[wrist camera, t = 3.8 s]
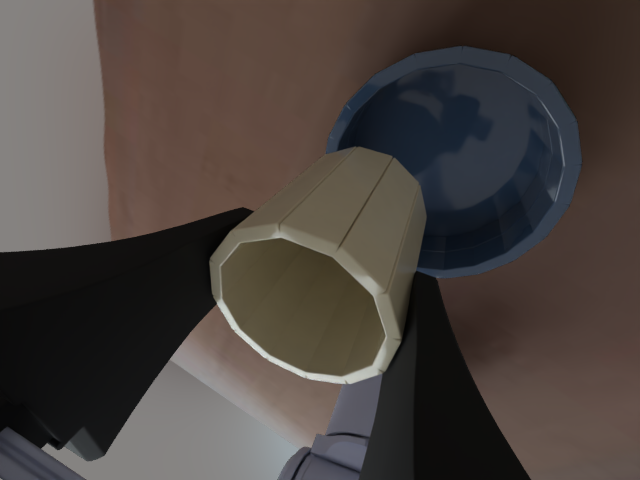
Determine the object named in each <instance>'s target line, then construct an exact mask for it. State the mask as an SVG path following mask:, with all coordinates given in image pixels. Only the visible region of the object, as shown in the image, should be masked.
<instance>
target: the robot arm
mask: <svg viewBox="0 0 640 480" xmlns="http://www.w3.org/2000/svg"><path fill="white" fill-rule="evenodd" d="M253 212H255V211H252V210H249V209H246V208H244V207H242V208H238V209H234V210H230V211H227V212H223V213H220V214H217V215H214V216H211V217H207V218H204V219H201V220H198V221H194V222H191V223H188V224H184V225H181V226H177V227H173V228H169V229H166V230H162V231H158V232H154V233H150V234H146V235H142V236H137V237H132V238H127V239H122V240H117V241H111V242H105V243H97V244H90V245H82V246H76V247H68V248H58V249H46V250H33V251H19V252H0V478H1V479H3V480H86V479H85V478H83V477H81V476H80V475H78V474H77V473H76V472H74V471H73V470H71V469H70V468H68V467H67V466H65V465H64V464H62V463H61V462H59V461H58V460H56V459H55V458H53V457H52V456H50V455H49V454H47V453H46V452H44V451H43V450H42V449H41V448H42V447H43V446H45V444H46V443H48V444H49V445H51V446H52V447H54V448H55V449H57V450H60V449H62V448H63V447H66V448H67V449H69V450H71V451H72V452H74V453H75V454H77V455H78V456H80V457H81V458H83V459H84V460H86V461H93V460H96V459H98V458H100V457H102V456H104V455H105V454H106V452H107V451H108V449H109V447H110V446H111V444H112V443H113V441H114V439H115V438H116V436H117V435H118V433H119V432H120V430H121V429H122V427H123V426H124V424H125V422H126V421H127V419H128V418H129V416H130V415H131V413H132V412H133V410H134V409H135V407H136V406H137V404H138V403H139V401H140V400H141V399H142V397H143V396H144V394H145V393H146V391H147V390H148V388H149V387H150V385H151V384H152V382H153V381H154V380H155V378H156V377H157V376H158V374H159V373H160V372H161V370H162V369H163V368H164V366H165V365H166V363H167V362H168V361H169V359H170V358H171V357H172V355H173V354H174V353H175V351H176V350H177V349H178V348H179V346H180V345H181V344H182V342H183V341H184V340H185V339H186V337H187V336H188V335H189V333H190V332H191V331H192V330H193V329H194V328H195V326H196V325H197V324H198V323H199V322H200V321H201V320H202V319H203V318H204V317H205V316H206V315H207V314H208V312H209V311H210V310H211V309H212V308H213V307H214V306H215V305H216V304H217V303H216V301H215V300H214V298H213V296H214V295H212V289H211V277H210V265H209V261H210V257H211V256H212V254H213V253H214V252H215V250H216V249H217V248H218V246H219V245H220V244H221V242H222V241H223V240H224V239H225V237H226V236H227V235H228V233H229V232H230V231H231V230H232V229H234V228H235V227H236V226H237V225H238V224H240V223H241V222H242V221H243V220H245V219H246V218H247V217H248V216H250V215H251V214H252V213H253ZM277 480H531V479H530V477H529V476H528V474H527V473H526V471H525V470H524V468H523V466H522V465H521V463H520V461H519V460H518V458H517V457H516V455H515V453H514V452H513V450H512V448H511V447H510V445H509V444H508V442H507V440H506V439H505V437H504V436H503V434H502V432H501V431H500V429H499V427H498V426H497V424H496V422H495V420H494V418H493V417H492V415H491V413H490V411H489V409H488V408H487V406H486V404H485V402H484V400H483V398H482V396H481V394H480V392H479V390H478V388H477V386H476V384H475V382H474V380H473V378H472V376H471V374H470V372H469V369H468V367H467V365H466V362H465V360H464V358H463V356H462V353H461V351H460V348H459V346H458V343H457V341H456V338H455V335H454V333H453V330H452V327H451V325H450V322H449V319H448V316H447V313H446V310H445V307H444V303H443V300H442V296H441V293H440V289H439V285H438V281H437V279H436V278H435V277H433V276H430V275H427V274H424V273H422V272H419V271H416V272H415V274H414V279H413V284H412V289H411V294H410V301H409V306H408V312H407V318H406V323H405V328H404V333H403V338H402V342H401V344H400V346H399V348H398V349H397V351H396V353H395V355H394V357H393V359H392V361H391V363H390V364H389V366H388V368H387V370H386V371H385V372H384V373H383V374H380V375H377V376H374V377H371V378H368V379H365V380H362V381H359V382H356V383H353V384H347V385H346V384H343V385H342V388H341V391H340V394H339V396H338V399H337V402H336V405H335V408H334V411H333V414H332V416H331V419H330V422H329V425H328V428H327V431H326V434H325V435H321V434H317V435H316V437H315V440H314V443H313V445H312V448H309V447H303V448H301V449H300V450H299V451H298V452H297V453H296V454H295V455H293V456H292V457H291V458H290V459H289V460H288V461H287V463H286V464H285V466H284V467H283V469H282V471H281V473H280V475H279V477H278V479H277Z"/></svg>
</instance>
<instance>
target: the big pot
mask: <svg viewBox="0 0 640 480" xmlns="http://www.w3.org/2000/svg"><path fill="white" fill-rule="evenodd" d="M355 146H356V147H362V148H366V149H369V150H373V151H376V152H380V153H383V154H387V155H390V156H392V157H393V158H396V159H397V160H398V161H399V163H400V164H401V165H402V166H403V167H404V168H405V169H406V170H407V171H408V172H409V173H410V174H411V175H412V176H413V177H414V178H415V179H416V180H417V181H418V182H419V185H420V186H421V190H422V195H423V200H424V205H425V210H426V215H427V218H426V224H425V229H424V234H423V239H422V244H421V249H420V254H419V259H418V264H417V269H416V271H419V272H422V273H424V274H427V275H430V276H433V277H435V278H454V277H462V276H470V275H478V274H481V273H484V272H486V271H489V270H492V269H494V268H497V267H499V266H502V265H505V264H507V263H510V262H512V261H513V260H516V259H517V258H519V257H520V256H521V255H523V254H524V253H525V252H527V251H528V250H530V249H531V248H532V247H534V246H535V245H536V244H538V243H539V242H541V241H542V240H543V239H545V237H547V236H548V234H549V233H550V231H551V230H552V229H553V227H554V226H555V225H556V223H557V222H558V221H559V219H560V218H561V217H562V215H563V214H564V213H565V211H566V210H567V209H568V207H569V206H570V203H571V201H572V198H573V195H574V191H575V188H576V184H577V181H578V178H579V174H580V171H581V167H582V164H581V163H582V162H583V161H582V153H581V145H580V137H579V128H578V122H577V120H576V117H575V115H574V114H573V112H572V110H571V109H570V107H569V106H568V104H567V102H566V101H565V99H564V98H563V96H562V94H561V93H560V91H559V90H558V88H557V87H556V85H555V83H554V82H552V80H551V79H549V78H548V77H546V76H545V75H543V74H542V73H540V72H538V71H537V70H535V69H534V68H532V67H531V66H529V65H528V64H526V63H525V62H523V61H522V60H520V59H518V58H517V57H515V56H514V55H511V54H508V53H503V52H499V51H493V50H488V49H483V48H477V47H472V46H467V45H463V46H462V45H459V46H452V47H446V48H440V49H434V50H428V51H423V52H418V53H415V54H412V55H410V56H408V57H406V58H404V59H403V60H401V61H399V62H397V63H395V64H393V65H391V66H389V67H387V68H385V69H384V70H382V71H380V72H378V73H376V74H375V75H374V76H372V77H371V78H370V79H369V80H368V81H367V82H366V83H365V84H364V85H363V86H362V87H361V88H360V89H359V90H358V91H357V92H356V93H355V94H354V95H353V96H352V97H351V98H350V99H349V100H348V101H347V103H346V104H345V105H344V107H343V109H342V111H341V113H340V115H339V117H338V119H337V121H336V123H335V125H334V127H333V129H332V131H331V133H330V135H329V137H328V142H327V148H326V154H329V153H333V152H337V151H340V150H344V149H348V148H351V147H355ZM393 158H392V159H393Z"/></svg>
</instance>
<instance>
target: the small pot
mask: <svg viewBox="0 0 640 480" xmlns="http://www.w3.org/2000/svg"><path fill="white" fill-rule="evenodd" d="M392 158H393V157H392V156H390V155H387V154H383V153H380V152H376V151H373V150H369V149H366V148H362V147H356V146H355V147H351V148H348V149H344V150H340V151H337V152H333V153H329V154H325V155H324V156H322V157H321V158H320V159H319V160H317V161H316V162H315V163H314V164H312V165H311V166H310V167H309V168H308V169H306V170H305V171H304V172H303V173H301V174H300V175H299V176H298V177H296V178H295V179H294V180H293V181H292V182H290V183H289V184H288V185H287V186H285V187H284V188H283V189H282V190H280V191H279V192H278V193H277V194H275V195H274V196H273V197H272V198H271V199H269V200H268V201H267V202H266V203H264V204H263V205H262V206H261V207H259V208H258V209H257V210H256V211H255V212H253V213H252V214H251V215H250V216H248V217H247V218H246V219H245V220H243V221H242V222H241V223H240V224H238V225H237V226H236V227H235V228H234V229H232V230H231V231H230V232H229V233H228V235H227V236H226V237H225V239H224V240H223V241H222V242H221V244H220V245H219V246H218V248H217V249H216V250H215V252H214V253H213V254H212V256H211V257H210V261H209V265H210V277H211V289H212V295H214V296H213V298H214V300H215V301H216V303H217V304H218V306H219V308H220V309H221V311H222V313H223V314H224V316H225V318H226V319H227V321H228V323H229V324H230V326H231V328H232V329H233V330H235V333H237V334H238V335H239V336H240V337H241V338H242V339H243V340H245V341H246V342H247V343H248V344H249V345H250V346H251V347H253V348H254V349H255V350H256V351H257V352H258V353H259V354H261V355H262V356H263V357H264V358H268V361H270V362H272V363H274V364H277V365H279V366H281V367H283V368H285V369H287V370H289V371H291V372H293V373H295V374H297V375H299V376H302V377H304V378H306V377H307V378H308V379H310V380H317V381H324V382H332V383H339V384H346V385H347V384H353V383H356V382H359V381H362V380H365V379H368V378H371V377H374V376H377V375H380V374H383V373H384V372H385V371H386V370H387V368H388V366H389V364H390V363H391V361H392V359H393V357H394V355H395V353H396V351H397V349H398V348H399V346H400V344H401V342H402V338H403V333H404V328H405V323H406V318H407V312H408V306H409V301H410V294H411V289H412V284H413V279H414V274H415V272H416V269H417V264H418V259H419V254H420V249H421V244H422V239H423V234H424V229H425V224H426V218H427V215H426V210H425V205H424V200H423V195H422V190H421V186H420V185H419V182H418V181H417V180H416V179H415V178H414V177H413V176H412V175H411V174H410V173H409V172H408V171H407V170H406V169H405V168H404V167H403V166H402V165H401V164H400V163H399V161H398V160H397V159H396V158H393V159H392Z"/></svg>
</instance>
